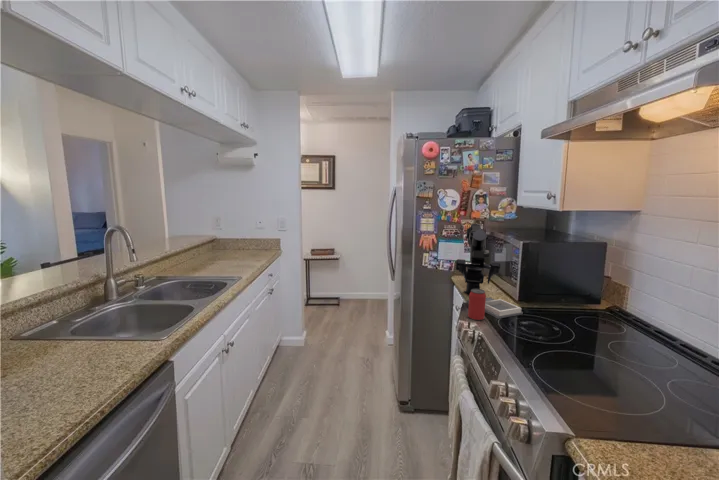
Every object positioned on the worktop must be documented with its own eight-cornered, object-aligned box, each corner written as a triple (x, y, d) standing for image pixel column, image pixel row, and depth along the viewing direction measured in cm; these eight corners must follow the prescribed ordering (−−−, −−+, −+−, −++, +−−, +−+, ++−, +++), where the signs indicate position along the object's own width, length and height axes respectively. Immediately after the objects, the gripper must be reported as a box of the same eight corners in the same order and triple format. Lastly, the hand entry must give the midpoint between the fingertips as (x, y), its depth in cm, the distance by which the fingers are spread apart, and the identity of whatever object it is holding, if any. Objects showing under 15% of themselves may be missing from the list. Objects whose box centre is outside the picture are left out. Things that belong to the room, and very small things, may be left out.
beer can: (474, 321, 132) (476, 293, 130) (464, 315, 138) (466, 288, 136) (487, 319, 133) (489, 292, 131) (477, 313, 140) (479, 287, 138)
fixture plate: (466, 302, 153) (466, 296, 153) (489, 299, 158) (489, 293, 158) (497, 318, 135) (498, 311, 134) (522, 314, 140) (523, 307, 139)
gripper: (457, 242, 146) (456, 271, 137) (501, 244, 140) (502, 275, 132) (456, 255, 154) (455, 283, 146) (497, 258, 149) (498, 287, 141)
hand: (477, 282), depth 141 cm, fingers open, 9 cm apart
